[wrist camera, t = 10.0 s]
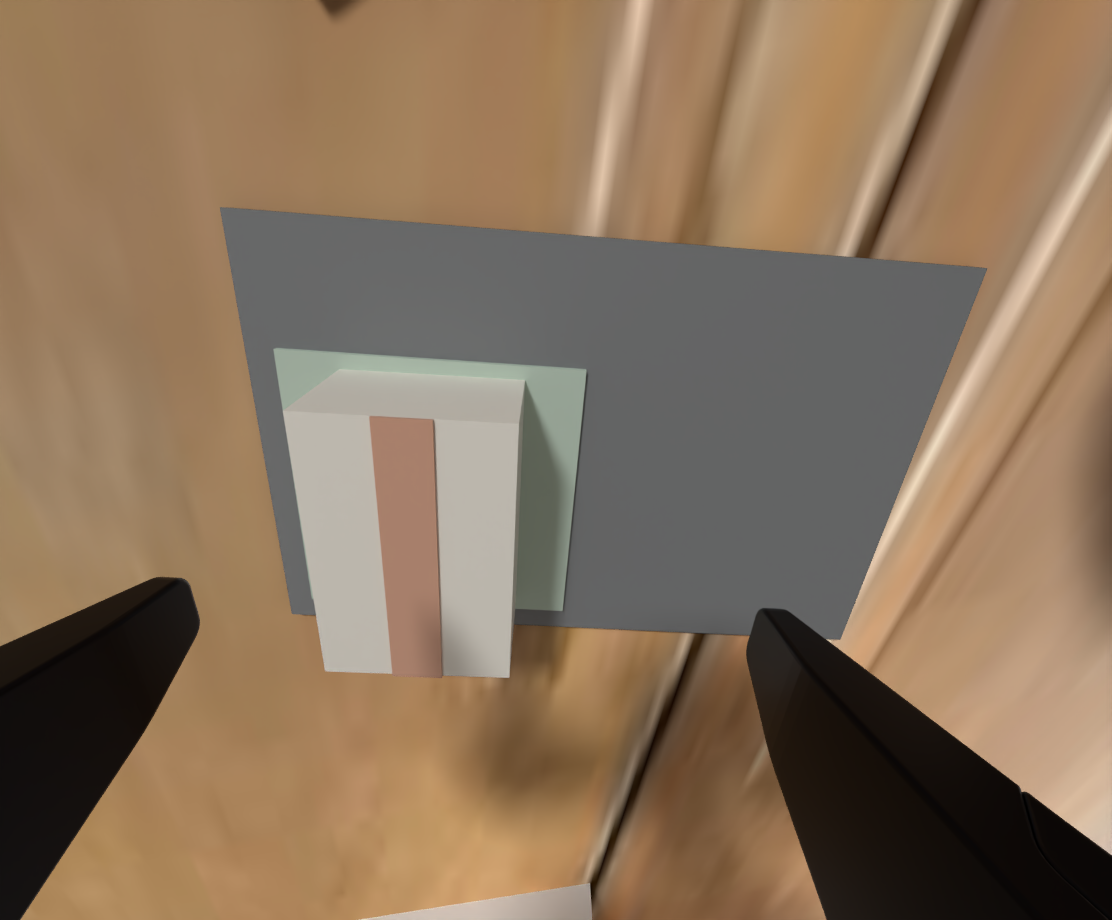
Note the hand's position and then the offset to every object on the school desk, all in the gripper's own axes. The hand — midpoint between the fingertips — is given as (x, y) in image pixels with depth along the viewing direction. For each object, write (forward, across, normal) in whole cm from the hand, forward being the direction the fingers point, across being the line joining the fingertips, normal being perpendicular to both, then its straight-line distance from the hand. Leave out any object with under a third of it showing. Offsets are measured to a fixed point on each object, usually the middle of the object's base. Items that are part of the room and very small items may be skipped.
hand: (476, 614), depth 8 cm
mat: (+11, -3, +2) cm, 11 cm away
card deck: (+10, +3, +4) cm, 11 cm away
